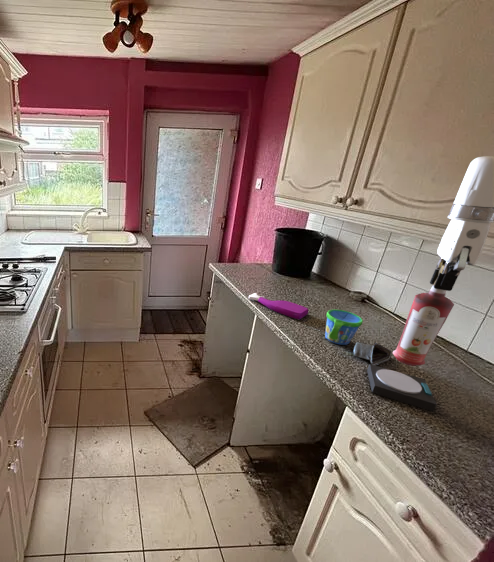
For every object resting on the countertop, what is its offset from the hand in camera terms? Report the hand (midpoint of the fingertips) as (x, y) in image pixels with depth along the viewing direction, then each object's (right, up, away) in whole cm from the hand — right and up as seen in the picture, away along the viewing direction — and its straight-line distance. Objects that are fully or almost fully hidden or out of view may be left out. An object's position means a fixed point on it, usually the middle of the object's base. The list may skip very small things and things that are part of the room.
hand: (440, 286), depth 78 cm
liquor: (-1, -21, +8) cm, 23 cm away
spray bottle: (-11, -10, +61) cm, 63 cm away
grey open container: (+3, -24, +27) cm, 36 cm away
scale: (-1, -30, +11) cm, 32 cm away
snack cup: (-1, -21, +36) cm, 41 cm away
